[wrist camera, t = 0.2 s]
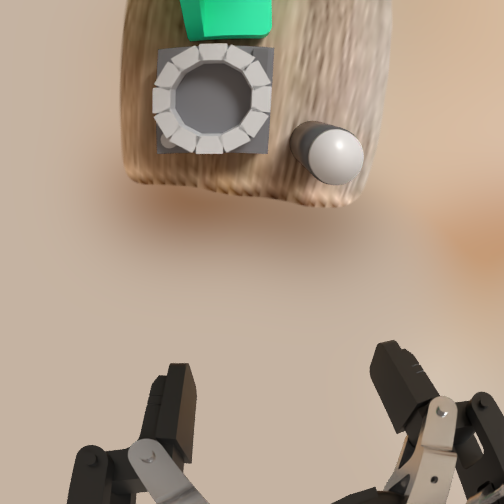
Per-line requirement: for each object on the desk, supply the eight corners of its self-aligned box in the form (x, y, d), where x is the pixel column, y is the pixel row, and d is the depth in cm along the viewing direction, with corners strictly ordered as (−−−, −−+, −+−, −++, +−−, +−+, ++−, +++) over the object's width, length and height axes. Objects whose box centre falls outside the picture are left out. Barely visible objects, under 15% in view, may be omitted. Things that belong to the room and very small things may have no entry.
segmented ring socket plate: (168, 56, 21) (151, 45, 16) (268, 55, 22) (277, 43, 17) (167, 146, 26) (151, 158, 21) (263, 147, 27) (270, 158, 22)
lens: (307, 111, 25) (331, 115, 19) (343, 139, 27) (375, 152, 20) (280, 149, 27) (296, 164, 21) (317, 174, 29) (341, 197, 22)
